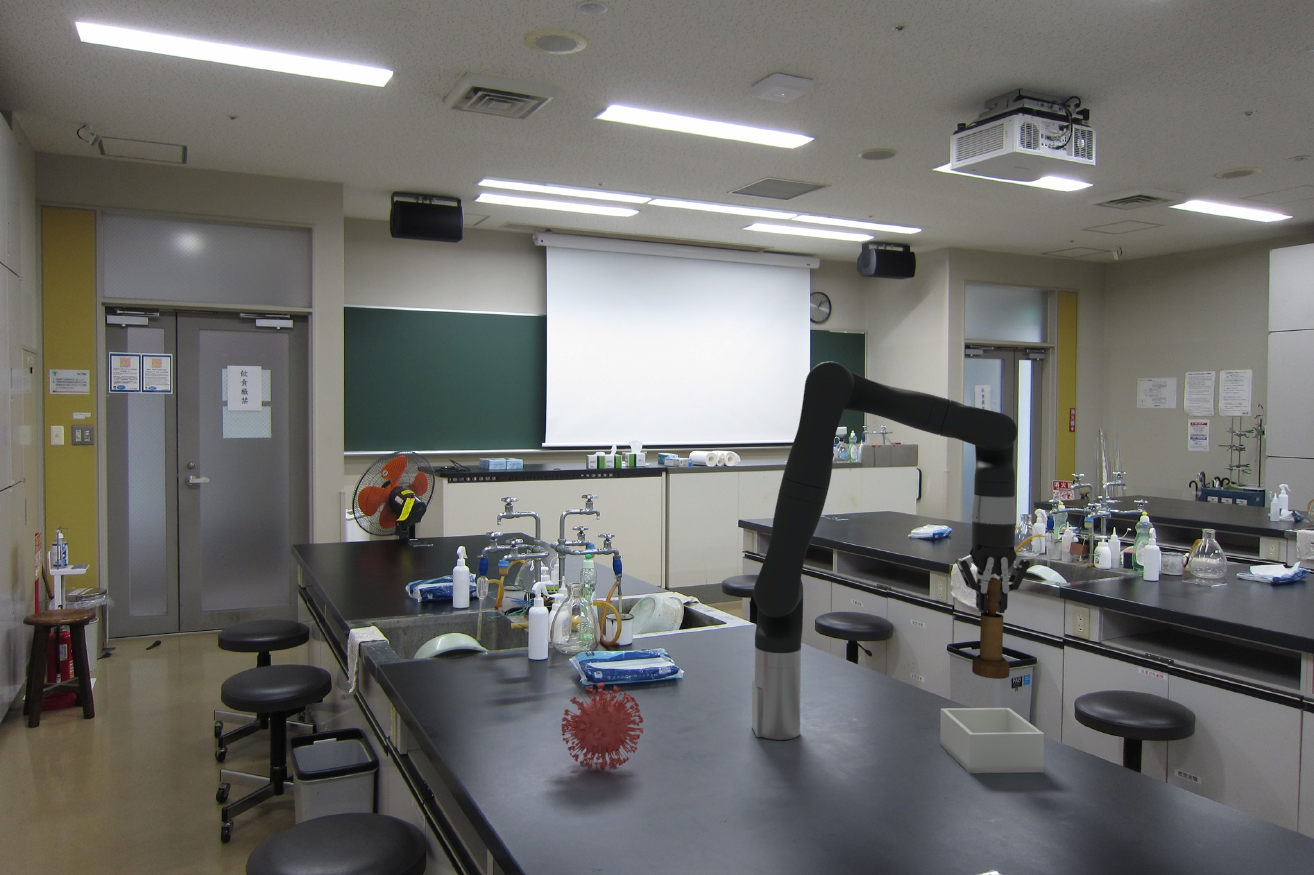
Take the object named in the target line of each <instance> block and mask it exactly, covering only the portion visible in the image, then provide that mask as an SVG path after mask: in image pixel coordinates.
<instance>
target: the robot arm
mask: <svg viewBox="0 0 1314 875" xmlns="http://www.w3.org/2000/svg"><path fill="white" fill-rule="evenodd" d="M803 389H804V390H803V397H802V398H803V399H802V405H801V410H800V412H801V413H800V417H799V424H798V428H797V431H796V434H795V437H794V440H793V443H792V445H791V448H790V452H789V454H788V458H787V461H786V465H785V468H784V470H783V475H782V479H781V482H780V486H779V490H778V493H777V500H776V503H775V504H776V505H775V510H774V515H773V519H772V520H773V521H772V525H771V526H772V527H771V534H770V539H769V545H768V548H767V550H766V551H767V552H766V554H765V557H764V561H763V563H762V566H761V569H760V571H759V573H758V577H757V579H756V581H755V583H754V585H753V598H754V603H755V605H756V606H757V616H756V618H757V619H756V627H755V631H754V632H755V633H754V680H752V687H751V689H752V690H751V691H752V692H751V696H752V698H751V699H752V700H751V727H752V729H753V732H754V734H755V736H756V738H764V739H769V740H776V741H777V740H778V741H783V740H790V739H792V740H793V739H795V738H797V737H799V736H800V733H801V686H802V684H801V682H802V680H801V679H802V678H801V677H802V675H801V674H802V671H801V669H802V668H801V666H802V636H803V635H802V634H803V628H804V626H803V623H804V621H803V620H804V585H803V580H802V574H803V570H804V568H803V567H804V564H805V559H806V555H807V551H808V548H809V546H810V545H811V544H810V543H811V542H812V539H813V537H814V534H815V532H816V531H817V530H816V529H817V528H818V525H819V522H820V519H821V517H822V514H823V510H824V507H825V503H826V500H827V497H828V492H829V488H830V484H831V479H832V471H833V462H834V448H835V447H834V446H835V440H836V435H837V431H838V428H839V425H840V423H841V422H840V421H841V419H842V416H843V414H844V413H843V412H844V410H845V411H851V412H852V411H855V412H859V413H865V414H870V415H874V416H877V417H881V418H884V419H888V420H890V421H893V422H896V423H899V424H902V425H904V426H907V427H910V428H913V429H916V430H919V431H923V432H926V433H930V434H932V435H937V436H940V437H945V438H950V439H957V440H960V441H962V442H965V443H968V444H971V445H974V449H975V452H974V453H975V470H974V481H973V484H974V485H973V491H974V492H973V502H972V509H971V510H972V511H971V549H970V551H969V555H966V556H965V557H963V558H960V557H959V558H956V559H955V563H956V566H957V568H958V570H959V573H960V574H961V576H962V580H963V581H964V584H965V586H966V587H967V588H969V589H971V590H973V591H975V594H976V595H975V608H976V609H977V610H978V612H980V614H981V613H987V612H988V611H987V602H988V594H987V593H986V592H987V588H988V582H989V581H990V577H992V575H994V578H997V579H998V580H999V581H1000V584H1001V588H1000V590H999V592H998V594H997V596H996V600H997V602H999V604H998V608H997V612H996V613H998V614H1005V611H1007V609H1008V600H1009V598H1008V596H1009V595H1008V594H1009V593H1010V592H1011V591H1017V590H1018V589H1019V588H1020V586H1021V585H1022V581H1023V580H1024V577H1025V576H1026V574H1027V572H1028V569H1029V567H1030V565H1031V562H1030V561H1029V560H1027V559H1024V558H1021V557H1019V556H1018V555H1017V552H1016V549H1015V545H1016V520H1017V519H1016V514H1017V511H1016V510H1017V507H1016V498H1015V495H1016V494H1015V493H1016V492H1015V490H1016V489H1015V488H1016V475H1015V468H1014V465H1013V464H1014V463H1013V462H1014V445H1015V441H1016V439H1017V437H1018V426H1017V424H1016V423H1015V421H1014V420H1013V418H1011V417H1010V416H1009V415H1007V414H1006V413H1002V412H998V411H994V410H990V409H985V408H981V407H976V406H971V405H966V404H964V403H961V402H959V401H955V400H952V399H951V400H950V399H949V398H945V397H941V396H939V395H938V396H937V395H934V394H929V393H926V392H921V391H918V390H911V389H906V388H905V389H904V388H899V387H895V386H892V385H891V386H890V385H887V384H883V383H880V382H876V381H873V380H871V379H868V378H866V377H865V376H864V377H863V376H861V375H859V374H857V373H855V372H852V371H850V369H848V368H847V367H846V366H844V365H843V364H840V362H836V361H831V360H830V361H823V362H820V363H818V364H817V365H815V366H814V367H813V368H812V369H811V370H810V371H809V372H808V374H807V376H806V378H805V383H804V388H803ZM972 563H973V564H974V566H975V567H976V573H975V577H974V574H973V573H972V570H971V568H972V567H973V566H972ZM1012 565H1013V570H1012V571H1011V573H1010V575H1009V569H1010V568H1011V567H1012ZM975 578H976V579H975Z"/></svg>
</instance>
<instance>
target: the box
mask: <svg viewBox="0 0 1314 875" xmlns="http://www.w3.org/2000/svg"><path fill="white" fill-rule="evenodd" d="M939 726H940V727H939V729H940V730H939V731H940V732H939V733H940V736H939V737H940V738H939V740H940V741H939V744H940V745H941V747H942V748H943V749H945V751H947V753H948V754H949V755H950V756H951V757H952V758H954V760H955V761H957V763H958V764H959V763H960V764H959V766H961V765H962V766H961V767H964V768H965V769H964V768H963V769H964V770H965V771H966V770H967V771H966V772H967V773H968V774H1013V773H1014V774H1015V773H1018V774H1020V773H1022V774H1023V773H1025V774H1026V773H1032V774H1033V773H1044V761H1045V760H1044V756H1045V755H1044V754H1045V733H1044V732H1042V731H1041V730H1040V729H1038V728H1037V727H1036V726H1034V725H1033V723H1032V724H1031V723H1030V722H1029V721H1028V720H1026V719H1025V718H1023V717H1022V716H1021V715H1019V714H1018V713H1016V712H1015V711H1014V710H1012V709H1011V708H1010V707H977V708H976V707H974V708H973V707H972V708H971V707H968V708H967V707H965V708H964V707H963V708H962V707H961V708H960V707H959V708H958V707H957V708H954V707H952V708H950V707H949V708H940V725H939Z"/></svg>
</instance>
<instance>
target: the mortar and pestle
mask: <svg viewBox="0 0 1314 875" xmlns="http://www.w3.org/2000/svg"><path fill="white" fill-rule="evenodd" d="M1000 588H1001V584H1000V581H999V580H998V579H997V578H995V577H993V576H991V577H990V581H989V582H988V588H987V592H986V593H987V594H988V602H987V613H981V612H980V629H979V630H980V638H979V640H980V641H979V654H978V655H976V656H975V657H973V659H972V664H971V666H972V668H971V671H972V673H973V674H974V675H976V676H979V677H980V678H981V677H983V678H986V679H996V680H999V679H1000V680H1003V679H1007V678H1009V677H1010V663H1009V661H1007V659H1006V658H1005V657H1003V643H1004V642H1003V639H1004V615H1002V613H999V612H997V608H998V604H999V602H997V600H996V596H997V594H998V592H999V590H1000Z"/></svg>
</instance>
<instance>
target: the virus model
mask: <svg viewBox="0 0 1314 875" xmlns="http://www.w3.org/2000/svg"><path fill="white" fill-rule="evenodd" d="M596 686H597V688H598V689H593V688H594V685H588V686H586V687H585V690H587V691H588V692H589V694H587V695H586V696H587V697H588V698H589V699H590V702H587V701H586V699H585V697H584V696H583V694H582V692H581V691H580V692H578V694H579V695H580V696H581V698H582V699H583V701H581V702H580V701H579V700H577V698H576V696H574V697H573V698H571V699H570V700H569V702H571V704H572V705H576V706H577V711H580V712H579V714H577V713H575V712H573V711H572V710H571V711H570V709H567V708H565V709H564V711H563V715H564V716H563V717H562V718H561V722H562V723H561V726H560V727H561V735H562V741H563V742H565V744H566V745H568V743H569V742H571V745H570V746H568V747H567V751H568V752H569V755H570V756H571V757H572V758H573V760H574V761H575V762H576V763H578V764H580V766H584V765H585V766H587V769H593V770H595V771H596V770H598V771H599V768H598V763H596V765H595V766H593V761H594V760H595V759H596V761H600V760H601V761H602V762H601V763H600V765H599V767H600V768H601V769H605V768H606V767H607V765H608V767H609V768H617V765H618V767H621V766H622V765H624V764H625V763H626V762H629V761H630V757H628V756H627V755H626V754H628V753H630V754H631V753H633V755H634V754H636V751H637V750H638V747H637V745H638V743H639V742H638V740H640V737H641V734H644V727H640V724H643V723H644V717H643V716H641V714H640V713H641V711H640V705H639V703H638V701H637V700H636V699H635V698H634V696H633V695H630V693H626V692H625V691H624V692H622V691H621V687H618V686H617V685H613V686H614V687H613V688H612V689H613V691H612V690H604V686H606V683H605V682H600V683H598V684H596ZM596 690H597V691H598V692H597V691H596ZM596 692H597V696H596ZM618 693H619V695H618V696H617V694H618ZM608 695H609V696H608ZM621 695H623V696H622V698H620V696H621ZM619 698H620V699H619ZM615 699H616V700H615ZM584 703H585V704H586V706H585V704H584ZM628 703H630V706H629V707H628ZM632 703H633V704H632ZM569 716H570V718H568V717H569ZM636 717H637V719H636ZM632 725H633V726H634V727H633V726H632ZM635 726H637V727H635ZM636 732H637V733H636ZM568 734H570V736H568V737H564V736H565V735H568ZM621 747H622V748H621ZM585 749H586V750H585ZM622 749H623V750H624V751H625V752H626V754H625V752H624V751H623V750H622ZM584 750H585V751H584ZM620 750H621V751H622V752H623V754H624V756H626V757H623V755H622V753H621V751H620ZM571 751H572V752H571ZM583 751H584V752H583ZM574 752H575V753H574ZM572 753H574V754H573V755H572ZM580 755H583V757H582V759H581V760H580V761H579V762H578V759H579V757H580ZM607 756H608V757H607ZM615 756H616V757H615ZM621 757H622V758H621ZM607 758H608V760H607ZM608 761H609V762H608Z"/></svg>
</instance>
